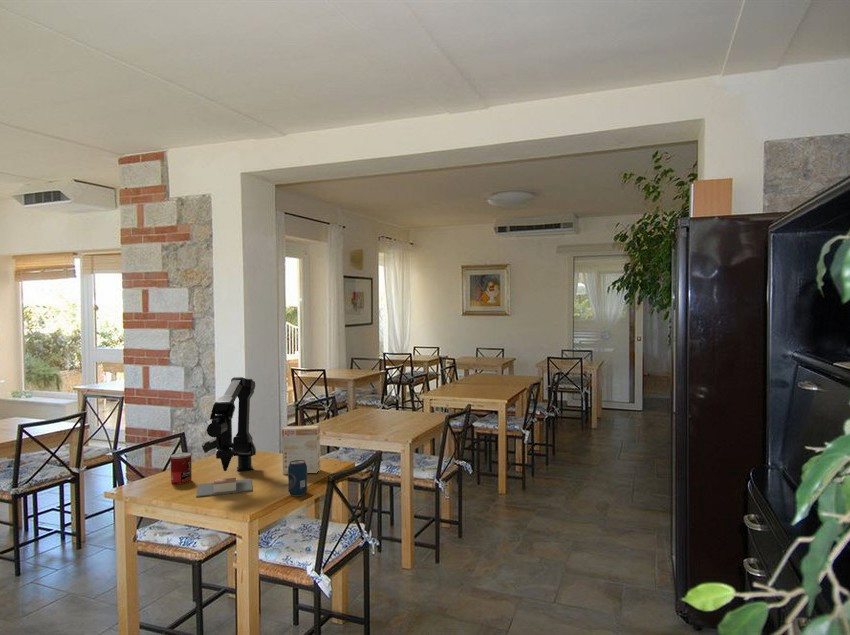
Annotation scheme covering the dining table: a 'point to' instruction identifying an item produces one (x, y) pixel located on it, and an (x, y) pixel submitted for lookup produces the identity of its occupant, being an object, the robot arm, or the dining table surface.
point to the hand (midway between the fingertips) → (225, 470)
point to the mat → (241, 486)
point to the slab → (224, 485)
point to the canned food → (181, 468)
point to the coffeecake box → (301, 446)
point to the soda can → (297, 478)
